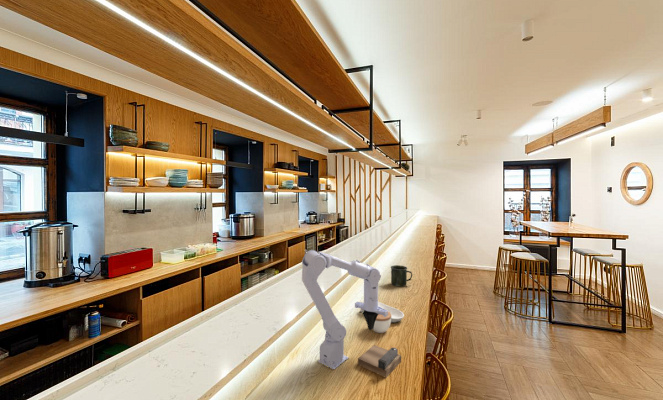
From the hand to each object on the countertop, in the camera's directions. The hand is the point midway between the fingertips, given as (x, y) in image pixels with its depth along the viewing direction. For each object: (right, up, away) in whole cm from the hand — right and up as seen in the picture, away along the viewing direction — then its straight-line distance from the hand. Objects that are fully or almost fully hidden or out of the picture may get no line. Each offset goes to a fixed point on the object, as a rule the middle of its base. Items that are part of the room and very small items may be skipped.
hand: (370, 328), depth 119 cm
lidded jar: (+7, -9, +18) cm, 21 cm away
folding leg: (+5, -7, -11) cm, 14 cm away
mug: (+32, -6, +81) cm, 88 cm away
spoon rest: (+10, -9, +32) cm, 35 cm away
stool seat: (+2, -10, -8) cm, 13 cm away
